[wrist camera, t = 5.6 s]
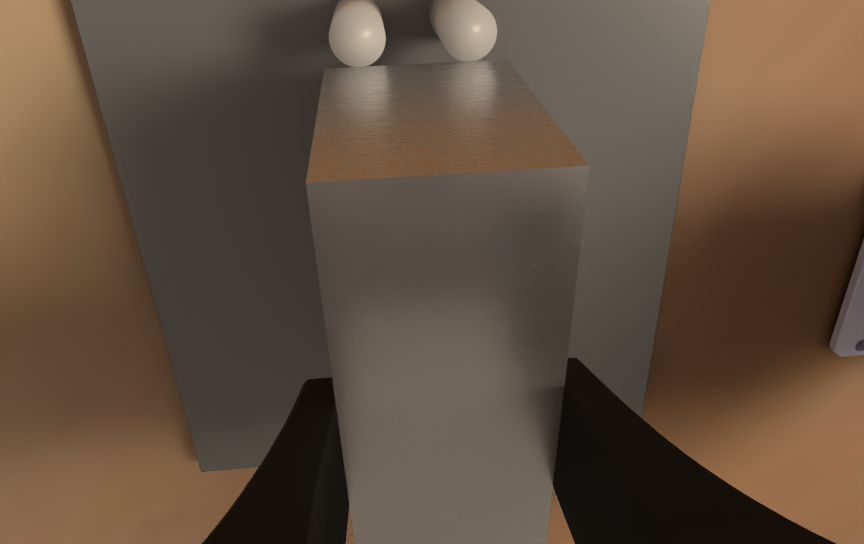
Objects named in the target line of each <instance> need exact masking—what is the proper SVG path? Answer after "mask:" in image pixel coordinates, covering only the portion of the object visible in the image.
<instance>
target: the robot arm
mask: <svg viewBox="0 0 864 544" xmlns="http://www.w3.org/2000/svg"><path fill="white" fill-rule="evenodd" d="M860 340H861V341H860ZM859 341H860V342H859ZM858 342H859V343H858ZM830 348H831V350H832V351H833V352H835V353H836V354H837V355H838V356H842V357H848V356H859V355H864V239H863V242H862V245H861V248H860V251H859V255H858V258H857V261H856V264H855V267H854V270H853V273H852V276H851V279H850V282H849V285H848V288H847V291H846V294H845V298H844V301H843V304H842V307H841V310H840V313H839V316H838V319H837V322H836V325H835V328H834V331H833V334H832V338H831V341H830ZM553 487H554V490H555V493H556V495H557V498H558V500H559V503H560V506H561V508H562V511H563V513H564V516H565V519H566V521H567V524H568V526H569V529H570V532H571V534H572V537H573V539H574V542H575V544H836V543H834V542H832V541H830V540H828V539H826V538H823V537H821V536H819V535H817V534H815V533H813V532H811V531H809V530H807V529H806V528H804V527H802V526H800V525H798V524H796V523H794V522H792V521H790V520H788V519H787V518H785V517H783V516H781V515H780V514H778V513H776V512H774V511H773V510H771V509H769V508H767V507H766V506H764V505H762V504H760V503H759V502H757V501H755V500H753V499H752V498H750V497H749V496H747V495H745V494H744V493H742V492H740V491H739V490H737V489H736V488H734V487H732V486H731V485H729V484H728V483H726V482H725V481H724V480H722V479H721V478H719V477H718V476H716V475H715V474H713V473H712V472H710V471H709V470H707V469H706V468H704V467H703V466H701V465H700V464H699V463H697V462H696V461H694V460H693V459H692V458H690V457H689V456H688V455H686V454H685V453H684V452H682V451H681V450H680V449H678V448H677V447H676V446H675V445H673V444H672V443H671V442H670V441H668V440H667V439H666V438H664V437H663V436H662V435H661V434H659V433H658V432H657V431H656V430H655V429H653V428H652V427H651V426H650V425H649V424H648V423H647V422H645V421H644V420H643V419H642V418H641V417H640V416H639V415H637V414H636V413H635V412H634V411H633V410H632V409H631V408H629V407H628V406H627V405H626V404H625V403H624V402H623V401H622V400H621V399H620V398H619V397H617V396H616V395H615V394H614V393H613V392H612V391H611V390H610V389H609V388H608V387H607V386H606V385H605V384H604V383H603V382H602V381H601V380H600V379H599V378H597V377H596V376H595V375H594V374H593V373H592V372H591V371H590V370H589V369H588V368H587V367H586V366H585V365H584V364H583V363H582V362H581V361H580V360H578V359H577V358H576V357H574V358H568V360H567V369H566V378H565V386H564V395H563V403H562V412H561V420H560V428H559V437H558V445H557V454H556V462H555V471H554V479H553ZM348 512H349V499H348V491H347V484H346V477H345V469H344V462H343V455H342V447H341V440H340V432H339V425H338V418H337V410H336V403H335V395H334V388H333V381H332V377H329V378H317V379H308V380H307V381H306V382H305V383H304V384H303V385H302V388H301V390H300V393H299V395H298V397H297V399H296V402H295V404H294V406H293V408H292V410H291V412H290V414H289V416H288V418H287V420H286V422H285V423H284V425H283V427H282V429H281V431H280V433H279V434H278V436H277V438H276V439H275V441H274V443H273V445H272V446H271V448H270V450H269V452H268V453H267V455H266V457H265V458H264V460H263V461H262V463H261V465H260V466H259V468H258V469H257V471H256V472H255V474H254V475H253V477H252V478H251V480H250V481H249V483H248V484H247V486H246V487H245V489H244V490H243V492H242V493H241V494H240V496H239V497H238V499H237V500H236V501H235V503H234V504H233V505H232V507H231V508H230V509H229V511H228V512H227V513H226V515H225V516H224V517H223V518H222V520H221V521H220V522H219V523H218V525H217V526H216V527H215V528H214V530H213V531H212V532H211V533H210V535H209V536H208V537H207V538H206V539H205V541H204V542H203V543H202V544H345V543H346V533H347V522H348Z"/></svg>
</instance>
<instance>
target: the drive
mask: <svg viewBox="0 0 864 544" xmlns="http://www.w3.org/2000/svg"><path fill="white" fill-rule="evenodd" d="M588 175H589V164H588V163H587V162H586V160H585V159H584V158H583V157H582V155H581V154H580V153H579V151H578V150H577V149H576V148H575V146H574V145H573V144H572V142H571V141H570V140H569V138H568V137H567V136H566V135H565V133H564V132H563V131H562V129H561V128H560V127H559V126H558V124H557V123H556V122H555V120H554V119H553V118H552V117H551V115H550V114H549V113H548V111H547V110H546V109H545V107H544V106H543V105H542V104H541V102H540V101H539V100H538V98H537V97H536V96H535V95H534V93H533V92H532V91H531V89H530V88H529V87H528V85H527V84H526V83H525V82H524V80H523V79H522V78H521V76H520V75H519V74H518V73H517V71H516V70H515V69H514V67H513V66H512V65H511V64H510V62H509V61H508V60H490V61H469V62H448V63H427V64H406V65H385V66H364V67H343V68H324V73H323V79H322V85H321V92H320V98H319V104H318V110H317V116H316V122H315V128H314V135H313V141H312V147H311V153H310V159H309V165H308V171H307V178H306V189H307V196H308V203H309V211H310V218H311V226H312V233H313V240H314V248H315V255H316V263H317V270H318V277H319V285H320V292H321V299H322V307H323V314H324V322H325V329H326V336H327V344H328V351H329V359H330V366H331V373H332V381H333V388H334V395H335V403H336V410H337V418H338V425H339V432H340V440H341V447H342V455H343V462H344V469H345V477H346V484H347V491H348V499H349V506H350V514H351V521H352V528H353V536H354V543H355V544H547V538H548V529H549V520H550V511H551V502H552V493H553V479H554V471H555V462H556V454H557V445H558V437H559V428H560V420H561V412H562V403H563V395H564V386H565V378H566V369H567V360H568V352H569V343H570V334H571V325H572V316H573V307H574V298H575V290H576V281H577V272H578V263H579V254H580V245H581V237H582V228H583V219H584V210H585V201H586V192H587V183H588Z"/></svg>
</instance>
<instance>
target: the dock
mask: <svg viewBox="0 0 864 544" xmlns="http://www.w3.org/2000/svg"><path fill="white" fill-rule="evenodd" d="M71 4H72V8H73V11H74V15H75V18H76V22H77V26H78V29H79V33H80V36H81V40H82V44H83V47H84V51H85V54H86V58H87V62H88V65H89V69H90V72H91V76H92V80H93V83H94V87H95V90H96V94H97V98H98V101H99V105H100V108H101V112H102V116H103V119H104V123H105V126H106V130H107V134H108V137H109V141H110V145H111V148H112V152H113V155H114V159H115V163H116V166H117V170H118V173H119V177H120V181H121V184H122V188H123V191H124V195H125V199H126V202H127V206H128V209H129V213H130V217H131V220H132V224H133V227H134V231H135V235H136V238H137V242H138V245H139V249H140V253H141V256H142V260H143V263H144V267H145V271H146V274H147V278H148V282H149V285H150V289H151V292H152V296H153V300H154V303H155V307H156V310H157V314H158V318H159V321H160V325H161V328H162V332H163V336H164V339H165V343H166V346H167V350H168V354H169V357H170V361H171V364H172V368H173V372H174V375H175V379H176V382H177V386H178V390H179V393H180V397H181V400H182V404H183V408H184V411H185V415H186V418H187V422H188V426H189V429H190V433H191V437H192V440H193V444H194V447H195V451H196V455H197V458H198V462H199V465H200V469H201V472H205V471H216V470H227V469H237V468H248V467H259V466H260V465H261V463H262V461H263V460H264V458H265V457H266V455H267V453H268V452H269V450H270V448H271V446H272V445H273V443H274V441H275V439H276V438H277V436H278V434H279V433H280V431H281V429H282V427H283V425H284V423H285V422H286V420H287V418H288V416H289V414H290V412H291V410H292V408H293V406H294V404H295V402H296V399H297V397H298V395H299V393H300V390H301V388H302V385H303V384H304V383H305V382H306V381H307V380H308V379H317V378H329V377H332V373H331V366H330V359H329V351H328V344H327V336H326V329H325V322H324V314H323V307H322V299H321V292H320V285H319V277H318V270H317V263H316V255H315V248H314V240H313V233H312V226H311V218H310V211H309V203H308V196H307V189H306V178H307V171H308V165H309V159H310V153H311V147H312V141H313V135H314V128H315V122H316V116H317V110H318V104H319V98H320V92H321V85H322V79H323V73H324V68H343V67H364V66H385V65H406V64H427V63H448V62H469V61H490V60H508V61H509V62H510V64H511V65H512V66H513V67H514V69H515V70H516V71H517V73H518V74H519V75H520V76H521V78H522V79H523V80H524V82H525V83H526V84H527V85H528V87H529V88H530V89H531V91H532V92H533V93H534V95H535V96H536V97H537V98H538V100H539V101H540V102H541V104H542V105H543V106H544V107H545V109H546V110H547V111H548V113H549V114H550V115H551V117H552V118H553V119H554V120H555V122H556V123H557V124H558V126H559V127H560V128H561V129H562V131H563V132H564V133H565V135H566V136H567V137H568V138H569V140H570V141H571V142H572V144H573V145H574V146H575V148H576V149H577V150H578V151H579V153H580V154H581V155H582V157H583V158H584V159H585V160H586V162H587V163H588V164H589V175H588V183H587V192H586V201H585V210H584V219H583V228H582V237H581V245H580V254H579V263H578V272H577V281H576V290H575V298H574V307H573V316H572V325H571V334H570V343H569V352H568V358H574V357H576V358H577V359H578V360H580V361H581V362H582V363H583V364H584V365H585V366H586V367H587V368H588V369H589V370H590V371H591V372H592V373H593V374H594V375H595V376H596V377H597V378H599V379H600V380H601V381H602V382H603V383H604V384H605V385H606V386H607V387H608V388H609V389H610V390H611V391H612V392H613V393H614V394H615V395H616V396H617V397H619V398H620V399H621V400H622V401H623V402H624V403H625V404H626V405H627V406H628V407H629V408H631V409H632V410H633V411H634V412H635V413H636V414H637V415H639V416H640V417H642V411H643V404H644V398H645V392H646V386H647V380H648V374H649V368H650V362H651V356H652V350H653V344H654V338H655V332H656V326H657V320H658V314H659V308H660V302H661V296H662V290H663V284H664V278H665V272H666V266H667V260H668V253H669V247H670V241H671V235H672V229H673V223H674V217H675V211H676V205H677V199H678V193H679V187H680V181H681V175H682V169H683V163H684V157H685V151H686V145H687V139H688V133H689V127H690V121H691V115H692V108H693V102H694V96H695V90H696V84H697V78H698V72H699V66H700V60H701V54H702V48H703V42H704V36H705V30H706V24H707V18H708V12H709V6H710V0H71Z"/></svg>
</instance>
